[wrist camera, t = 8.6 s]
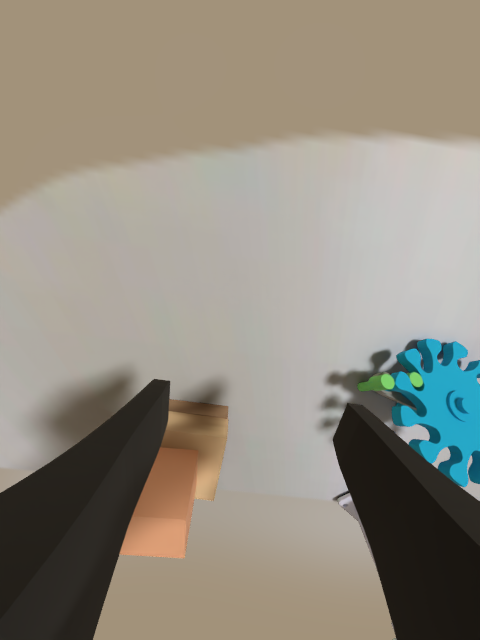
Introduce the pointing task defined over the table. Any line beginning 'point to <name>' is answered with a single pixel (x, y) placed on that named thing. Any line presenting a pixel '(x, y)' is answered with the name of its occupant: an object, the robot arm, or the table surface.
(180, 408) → the tower base
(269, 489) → the table surface
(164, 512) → the block
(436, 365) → the gear
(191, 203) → the table surface
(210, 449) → the tower top
